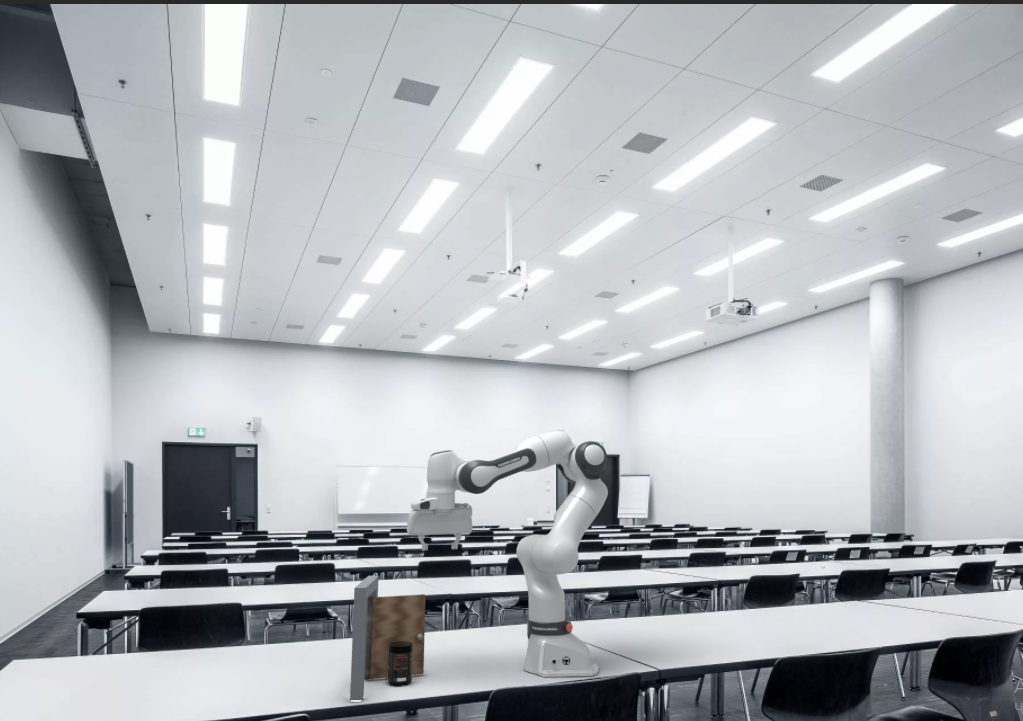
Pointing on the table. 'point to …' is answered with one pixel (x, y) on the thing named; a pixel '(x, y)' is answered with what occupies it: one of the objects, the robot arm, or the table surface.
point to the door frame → (360, 634)
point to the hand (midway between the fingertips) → (439, 549)
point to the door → (394, 631)
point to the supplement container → (400, 663)
